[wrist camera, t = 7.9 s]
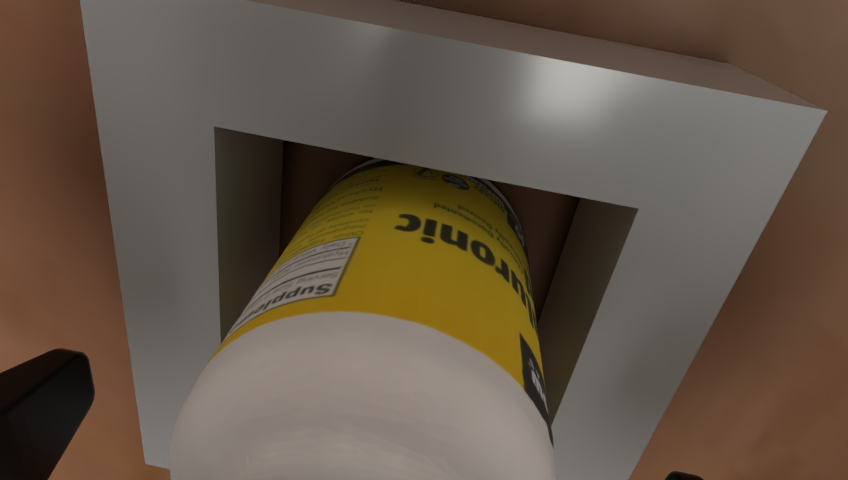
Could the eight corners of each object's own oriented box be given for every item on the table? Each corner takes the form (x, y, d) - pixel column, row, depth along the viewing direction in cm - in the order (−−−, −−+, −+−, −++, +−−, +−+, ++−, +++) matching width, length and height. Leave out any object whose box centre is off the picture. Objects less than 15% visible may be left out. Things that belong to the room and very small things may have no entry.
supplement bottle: (567, 278, 13) (702, 853, 5) (395, 361, 15) (278, 880, 7) (447, 97, 12) (331, 516, 3) (268, 217, 14) (-110, 681, 5)
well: (569, 438, 16) (587, 553, 13) (209, 366, 16) (145, 464, 13) (731, 63, 11) (827, 110, 8) (191, -39, 11) (74, -33, 8)
